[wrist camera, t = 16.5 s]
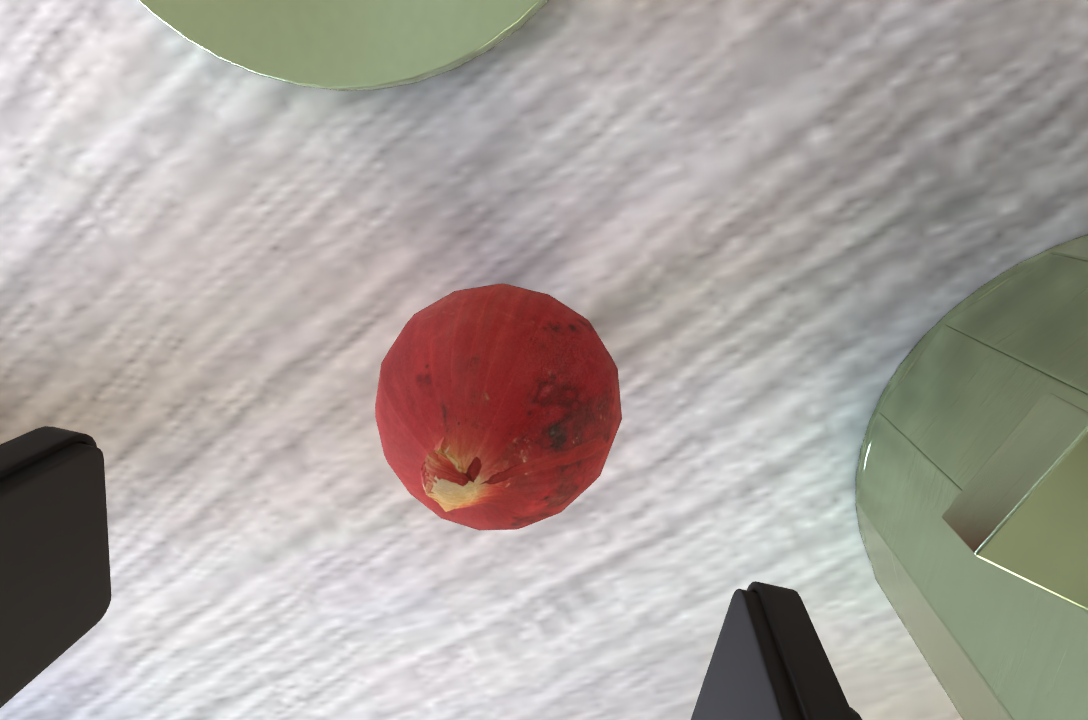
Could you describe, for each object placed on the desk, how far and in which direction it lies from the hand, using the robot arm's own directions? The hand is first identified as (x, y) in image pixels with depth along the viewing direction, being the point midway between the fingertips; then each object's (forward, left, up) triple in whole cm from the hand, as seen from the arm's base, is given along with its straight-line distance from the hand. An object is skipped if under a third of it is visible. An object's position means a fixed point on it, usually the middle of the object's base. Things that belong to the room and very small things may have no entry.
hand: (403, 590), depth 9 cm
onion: (0, 0, -10) cm, 10 cm away
